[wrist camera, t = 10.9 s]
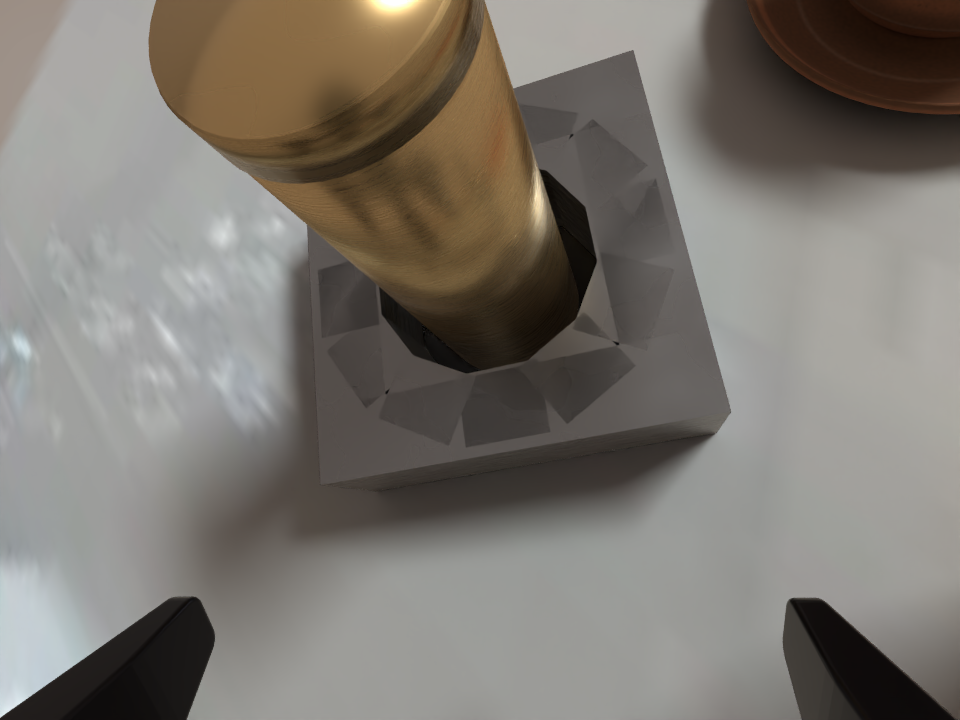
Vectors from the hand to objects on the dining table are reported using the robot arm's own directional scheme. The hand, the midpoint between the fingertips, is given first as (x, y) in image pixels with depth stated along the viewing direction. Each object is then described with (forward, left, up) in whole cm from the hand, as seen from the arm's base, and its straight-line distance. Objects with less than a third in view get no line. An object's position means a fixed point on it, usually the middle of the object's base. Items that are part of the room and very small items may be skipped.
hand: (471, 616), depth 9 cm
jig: (+7, +6, -9) cm, 13 cm away
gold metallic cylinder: (+7, +6, -9) cm, 13 cm away
